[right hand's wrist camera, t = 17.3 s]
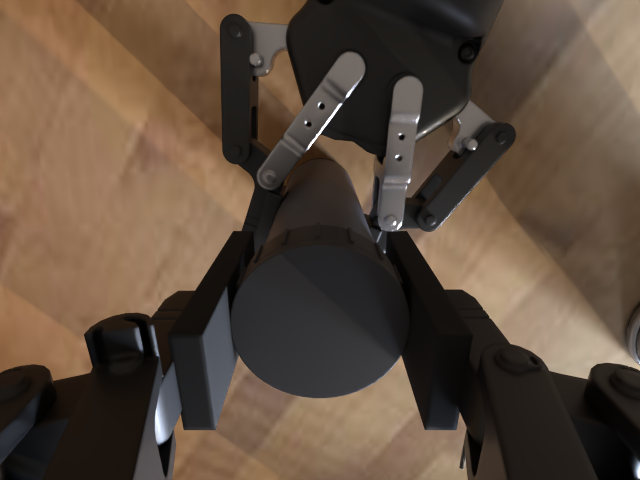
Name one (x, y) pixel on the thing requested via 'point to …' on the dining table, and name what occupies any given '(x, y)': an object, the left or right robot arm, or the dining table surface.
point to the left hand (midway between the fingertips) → (302, 266)
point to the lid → (320, 312)
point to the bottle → (320, 200)
